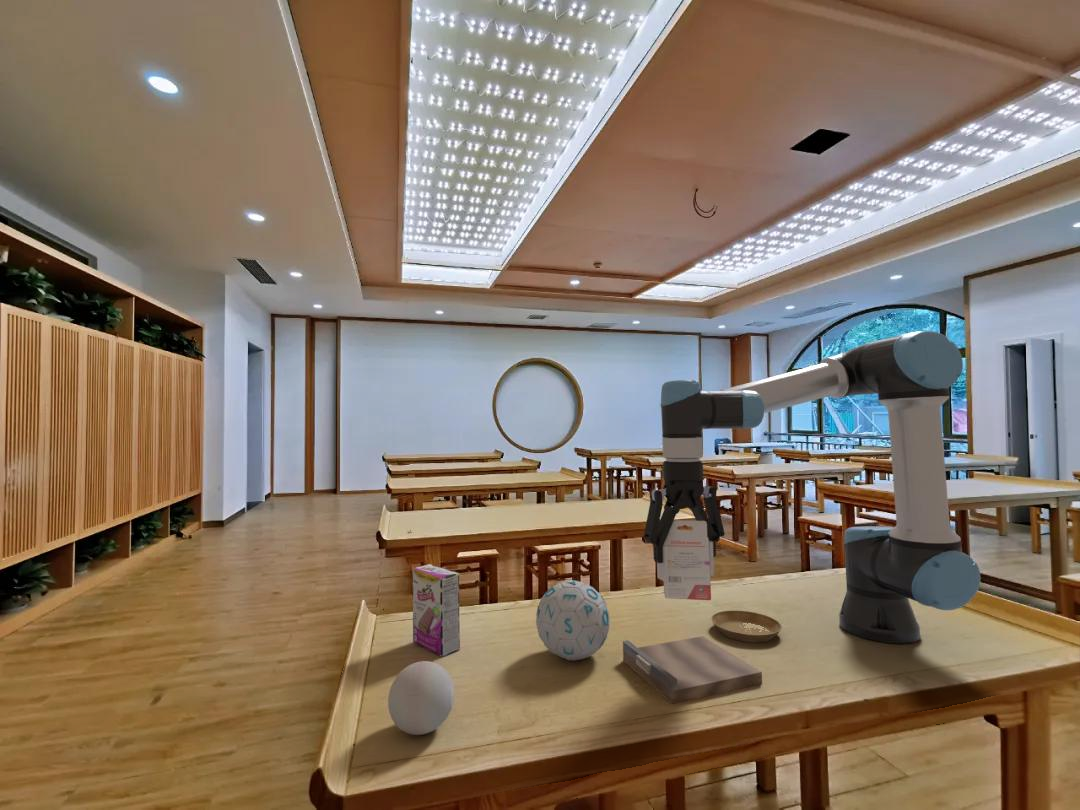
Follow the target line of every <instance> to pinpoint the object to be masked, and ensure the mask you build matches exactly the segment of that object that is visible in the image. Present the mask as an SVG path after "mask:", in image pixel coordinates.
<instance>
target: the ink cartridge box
mask: <svg viewBox="0 0 1080 810" xmlns="http://www.w3.org/2000/svg"><path fill="white" fill-rule="evenodd" d="M683 526H686V527H689V528H692V529H678V528H679V527H683ZM664 545H666V546H668V569H669V582H664V581H663V592H664V598H665V599H667V600H669V599H670V600H671V599H672V600H673V599H674V600H693V601H695V600H697V601H712V589H711V586H712V585H711V576H710V559H709V539H708V537H707V523H706V521H696V520H693V519H692V520H684V519H683V520H682V519H681V520H679V519H678V520H677V519H674V521H673V523H672V526H671V528H670V531H669V533H668V536H667V538H666V540H665V543H664Z"/></svg>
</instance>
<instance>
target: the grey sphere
mask: <svg viewBox="0 0 1080 810" xmlns="http://www.w3.org/2000/svg"><path fill="white" fill-rule="evenodd" d="M454 702H455V686H454V682H453V680H452V678H451V676H450V674H449V673H448V671H446V669H445V668H444V667H443V666H441V665H440V664H438V663H436V662H433V661H427V660H424V661H423V660H422V661H417V662H416V661H415V662H413V663H411V664H409V665H408V666H405V668H403V669H402V670H401V671H400V672H399V673H398V675H397V676H396V677H395V679H394V680H393V682H392V684H391V686H390V689H389V692H388V698H387V707H388V708H387V709H388V713H389V715H390V717H391V719H392V722H393V723H394V724H395V726H396V727H398V729H399V730H401V731H403V732H404V733H405V734H409V735H413V736H414V735H415V736H421V735H426V734H429V733H432V732H433V731H435V730H436V729H438V728H439V727H440V726H441V725H442V724H443V723H444V722H445V721H446V720H447V718H448V717H449V715H450V713H451V711H452V709H453V707H454Z"/></svg>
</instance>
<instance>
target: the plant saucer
mask: <svg viewBox="0 0 1080 810" xmlns="http://www.w3.org/2000/svg"><path fill="white" fill-rule="evenodd" d="M710 619H711V622H712V623H713V625H714V626H715V627H716V628H717V629H718V631H719V632H721V633H722V635H724V636H726V637H727V638H730V639H732V640H735V639H736V640H735V641H740V642H744V641H745V642H744V643H764V642H768V641H770V640H772V639H774V638H775V637H776V636H777V635H778V634H779V633H780V632H781V631H782V629H783V627H782V623H780V622H779V621H778V620H777V619H776V618H773V617H771V616H768V615H766V614H763V613H762V614H761V613H758V612H754V611H748V610H734V609H733V610H723V611H718V612H716V613H714V614H712V616H711V618H710ZM743 623H747V624H748V623H751V624H755V625H760V626H762V627H764V628H763V629H764V630H761V631H762V632H759V631H760V629H758V628H756V629H754V627H753V628H750V629H751V630H749V628H747V629H748V630H747V629H746V628H744V626H746V625H745V624H744V625H743ZM740 625H741V627H740ZM742 627H743V628H742ZM765 628H766V629H767V630H768V631H769V632H768V631H765V630H766V629H765ZM745 630H746V631H747V632H746V631H745ZM750 631H751V633H750Z"/></svg>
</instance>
